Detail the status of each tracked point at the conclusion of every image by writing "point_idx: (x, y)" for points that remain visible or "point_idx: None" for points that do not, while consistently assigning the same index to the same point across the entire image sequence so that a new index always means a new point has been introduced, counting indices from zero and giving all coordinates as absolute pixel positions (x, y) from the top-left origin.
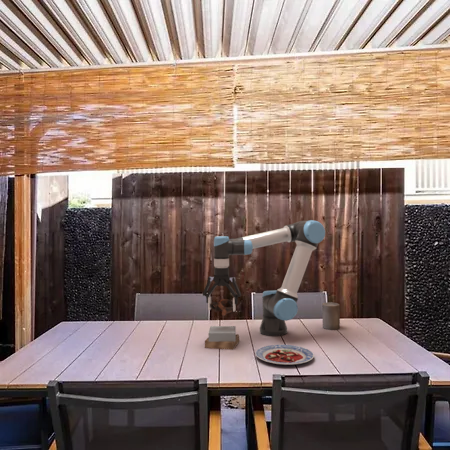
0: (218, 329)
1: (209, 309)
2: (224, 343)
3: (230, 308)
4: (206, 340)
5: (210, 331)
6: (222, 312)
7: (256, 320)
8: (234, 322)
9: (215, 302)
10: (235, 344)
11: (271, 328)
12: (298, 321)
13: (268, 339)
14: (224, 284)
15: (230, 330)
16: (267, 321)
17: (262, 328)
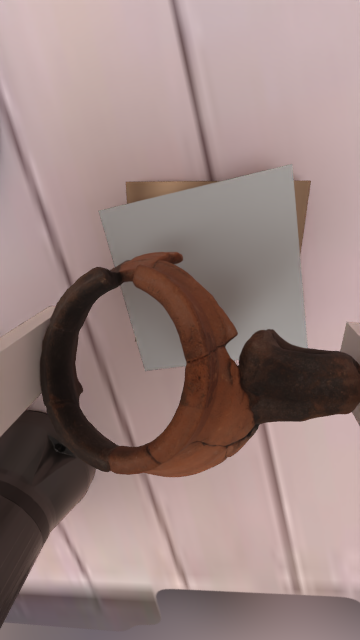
0: (234, 280)
1: (352, 325)
2: (178, 181)
3: (65, 295)
4: (300, 190)
5: (284, 218)
6: (167, 252)
7: (147, 580)
8: (228, 562)
9: (287, 391)
10: None
11: (15, 435)
12: None
13: None
14: None
15: None
16: (19, 470)
17: (67, 454)
